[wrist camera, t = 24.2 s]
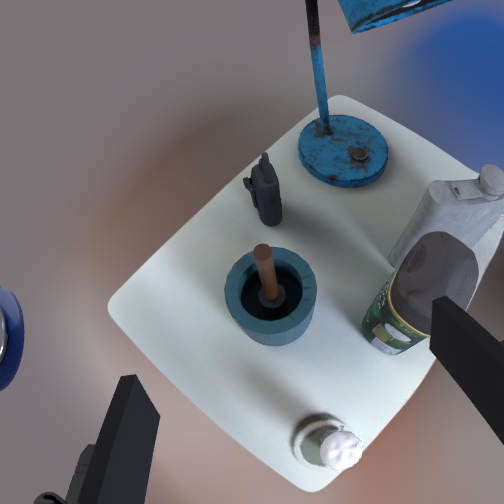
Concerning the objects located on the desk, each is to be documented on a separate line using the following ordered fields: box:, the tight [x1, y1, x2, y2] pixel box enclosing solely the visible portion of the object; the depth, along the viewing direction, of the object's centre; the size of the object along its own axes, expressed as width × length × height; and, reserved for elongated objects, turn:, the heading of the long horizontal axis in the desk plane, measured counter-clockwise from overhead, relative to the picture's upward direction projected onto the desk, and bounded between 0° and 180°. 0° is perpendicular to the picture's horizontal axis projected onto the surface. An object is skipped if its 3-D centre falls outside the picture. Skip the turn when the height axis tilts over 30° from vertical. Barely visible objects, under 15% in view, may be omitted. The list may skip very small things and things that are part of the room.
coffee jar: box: [362, 231, 479, 355], centre depth 33 cm, size 10×8×19 cm
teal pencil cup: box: [225, 247, 317, 346], centre depth 40 cm, size 10×10×9 cm
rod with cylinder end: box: [253, 244, 287, 320], centre depth 35 cm, size 3×3×18 cm
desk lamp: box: [298, 0, 452, 187], centre depth 33 cm, size 16×22×45 cm
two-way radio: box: [243, 152, 282, 226], centre depth 44 cm, size 6×4×15 cm
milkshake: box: [320, 426, 362, 470], centre depth 31 cm, size 5×5×10 cm
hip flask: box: [389, 164, 504, 269], centre depth 35 cm, size 16×4×20 cm, turn 101°
